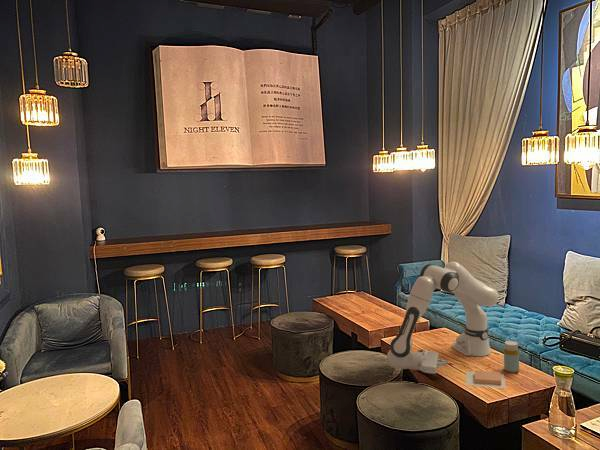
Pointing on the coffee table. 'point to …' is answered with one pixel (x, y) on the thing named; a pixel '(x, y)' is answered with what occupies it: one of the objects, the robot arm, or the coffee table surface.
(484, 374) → the tile
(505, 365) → the bottle
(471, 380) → the mat
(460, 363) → the coffee table surface
